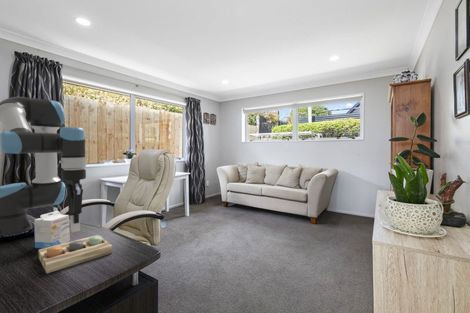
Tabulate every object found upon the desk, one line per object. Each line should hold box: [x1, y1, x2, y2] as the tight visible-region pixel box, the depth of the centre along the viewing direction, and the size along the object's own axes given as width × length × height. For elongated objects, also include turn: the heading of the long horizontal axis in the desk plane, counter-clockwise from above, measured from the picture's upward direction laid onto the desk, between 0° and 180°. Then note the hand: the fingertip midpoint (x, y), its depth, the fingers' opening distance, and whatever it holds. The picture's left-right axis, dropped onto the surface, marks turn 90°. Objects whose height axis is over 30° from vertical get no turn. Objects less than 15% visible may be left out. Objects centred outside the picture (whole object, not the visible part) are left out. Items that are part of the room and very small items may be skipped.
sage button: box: [89, 235, 103, 247], centre depth 93 cm, size 4×4×3 cm
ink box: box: [33, 210, 71, 249], centre depth 98 cm, size 9×8×13 cm
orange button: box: [47, 246, 62, 258], centre depth 83 cm, size 4×4×3 cm
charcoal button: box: [69, 240, 83, 252], centre depth 88 cm, size 4×4×3 cm
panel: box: [38, 234, 113, 274], centre depth 88 cm, size 16×20×3 cm
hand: (75, 231), depth 88 cm, fingers closed
